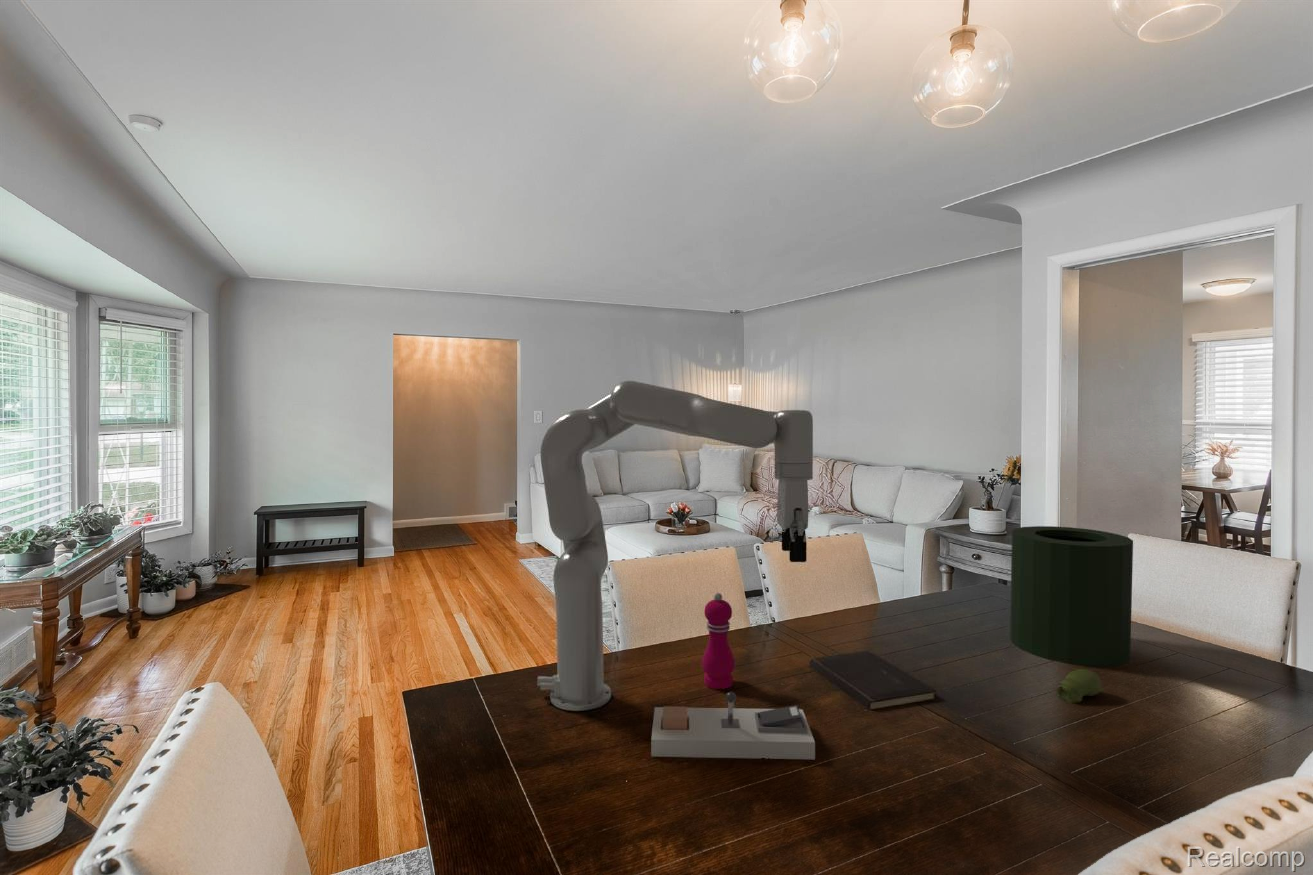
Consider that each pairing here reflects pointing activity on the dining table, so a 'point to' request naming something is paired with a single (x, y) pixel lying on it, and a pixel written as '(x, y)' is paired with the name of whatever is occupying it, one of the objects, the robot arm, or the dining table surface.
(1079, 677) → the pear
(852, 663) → the hardcover book
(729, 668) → the pepper mill
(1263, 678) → the dining table surface
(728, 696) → the toggle lever
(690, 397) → the robot arm
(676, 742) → the control panel
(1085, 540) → the flower pot
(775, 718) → the panel
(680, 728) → the push button
